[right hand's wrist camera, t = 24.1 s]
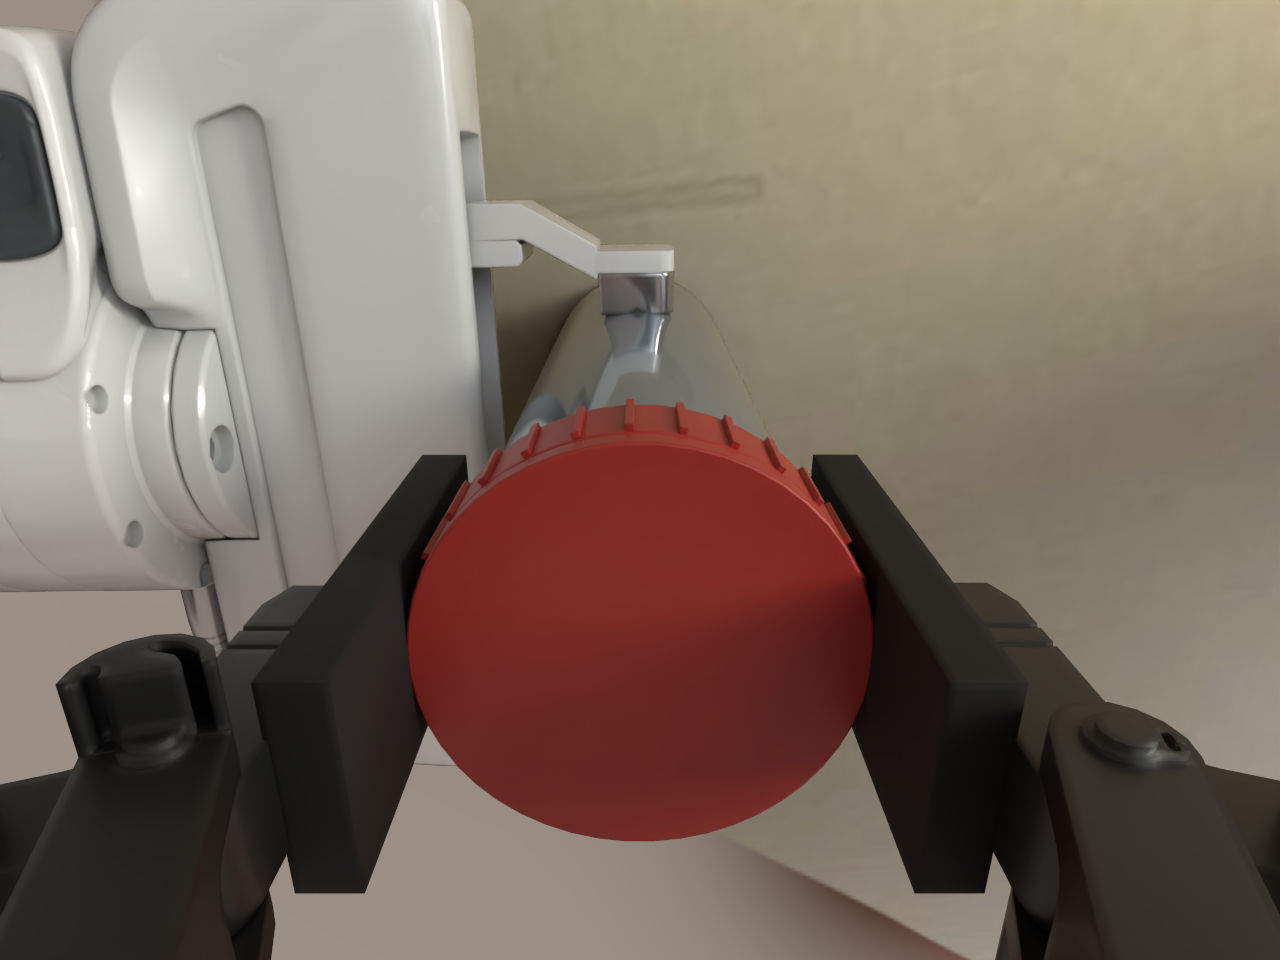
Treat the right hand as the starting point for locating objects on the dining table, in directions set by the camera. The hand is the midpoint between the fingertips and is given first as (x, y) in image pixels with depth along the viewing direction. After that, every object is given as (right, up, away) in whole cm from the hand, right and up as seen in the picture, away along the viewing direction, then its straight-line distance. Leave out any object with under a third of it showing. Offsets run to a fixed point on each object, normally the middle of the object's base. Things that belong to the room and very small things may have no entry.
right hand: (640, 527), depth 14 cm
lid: (0, -1, -4) cm, 4 cm away
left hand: (+1, +3, +7) cm, 7 cm away
